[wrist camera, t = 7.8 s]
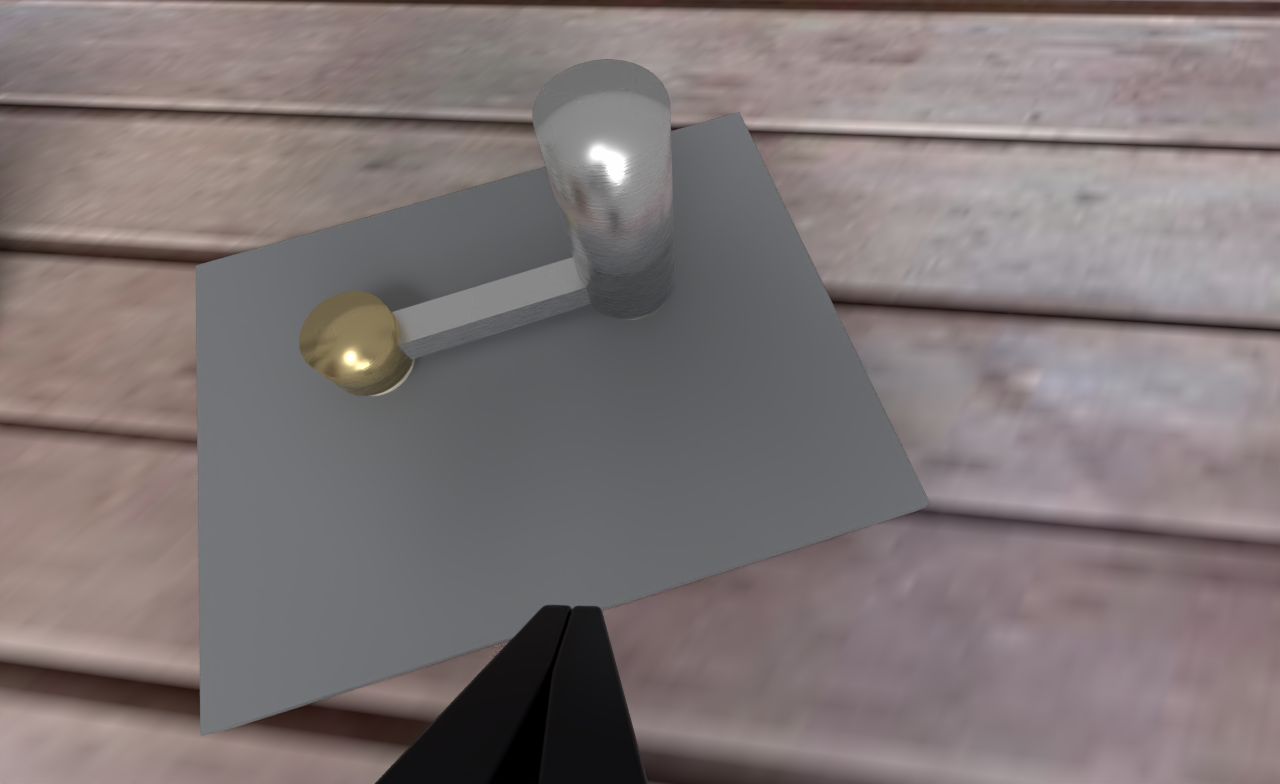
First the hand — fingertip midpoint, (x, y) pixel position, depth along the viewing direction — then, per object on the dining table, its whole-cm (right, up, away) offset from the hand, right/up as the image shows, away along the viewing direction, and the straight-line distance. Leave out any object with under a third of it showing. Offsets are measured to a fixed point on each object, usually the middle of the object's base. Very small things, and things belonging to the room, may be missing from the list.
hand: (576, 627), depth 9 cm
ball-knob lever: (-4, +6, +14) cm, 16 cm away
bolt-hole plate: (-4, +4, +15) cm, 16 cm away
